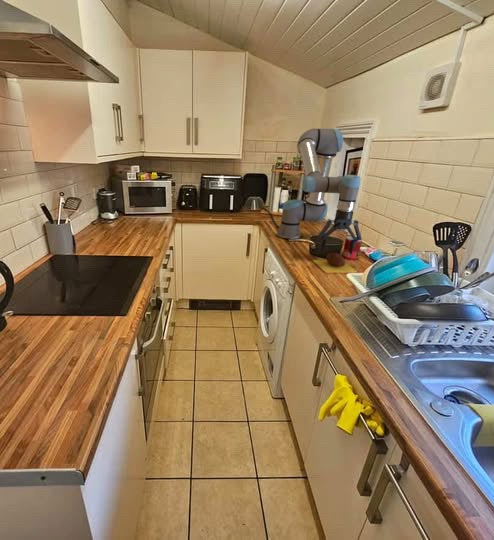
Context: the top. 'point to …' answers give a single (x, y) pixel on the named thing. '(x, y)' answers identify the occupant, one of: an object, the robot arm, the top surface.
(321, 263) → the tea towel
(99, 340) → the top surface
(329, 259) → the potato
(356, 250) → the canned food
